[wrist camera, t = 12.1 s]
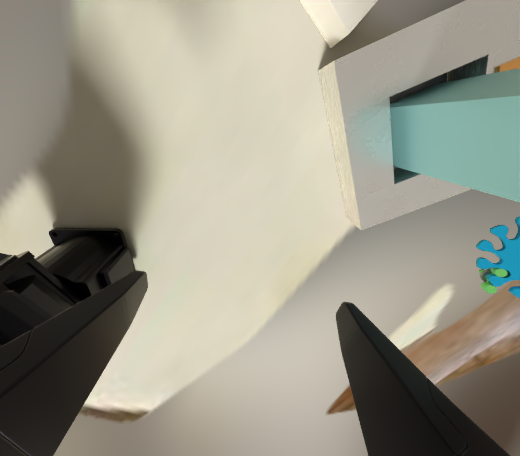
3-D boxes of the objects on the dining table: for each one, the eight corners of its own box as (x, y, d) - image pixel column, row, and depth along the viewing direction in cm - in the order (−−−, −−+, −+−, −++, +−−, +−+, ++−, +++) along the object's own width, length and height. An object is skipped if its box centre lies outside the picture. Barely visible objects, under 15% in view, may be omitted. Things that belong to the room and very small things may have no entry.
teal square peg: (383, 163, 20) (522, 202, 10) (379, 108, 18) (552, 92, 8) (434, 142, 19) (630, 163, 10) (437, 83, 17) (697, 34, 7)
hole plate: (346, 217, 22) (362, 231, 20) (317, 70, 16) (335, 59, 13) (475, 168, 21) (511, 175, 18) (500, -13, 15) (563, -45, 12)
